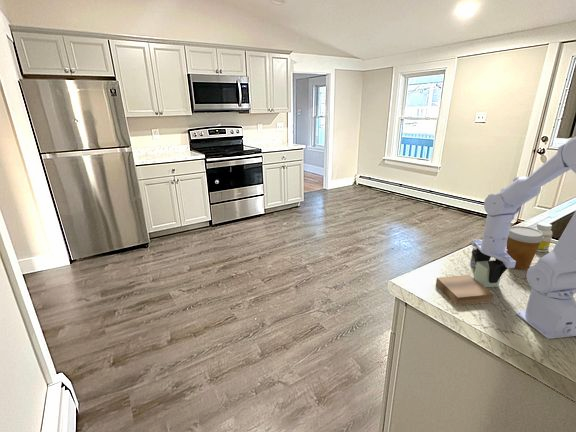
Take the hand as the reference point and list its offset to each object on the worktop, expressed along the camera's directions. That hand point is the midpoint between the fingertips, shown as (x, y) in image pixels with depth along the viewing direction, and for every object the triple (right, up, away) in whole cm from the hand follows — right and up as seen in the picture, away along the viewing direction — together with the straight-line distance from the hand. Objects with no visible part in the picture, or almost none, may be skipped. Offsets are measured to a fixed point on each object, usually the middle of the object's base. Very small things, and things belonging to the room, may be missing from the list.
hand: (486, 277), depth 90 cm
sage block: (0, -1, +1) cm, 2 cm away
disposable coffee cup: (+16, +2, +10) cm, 19 cm away
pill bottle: (+4, +2, +10) cm, 11 cm away
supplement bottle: (+31, +6, +19) cm, 37 cm away
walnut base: (-9, -3, -4) cm, 11 cm away
